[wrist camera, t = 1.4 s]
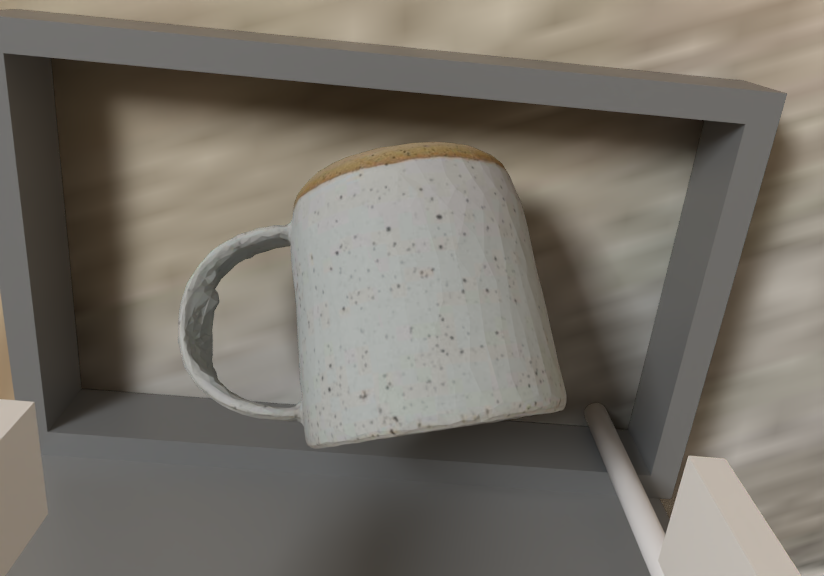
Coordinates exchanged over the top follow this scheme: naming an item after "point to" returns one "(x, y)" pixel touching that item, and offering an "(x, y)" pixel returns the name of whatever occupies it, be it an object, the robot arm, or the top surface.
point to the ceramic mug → (398, 299)
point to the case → (285, 441)
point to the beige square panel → (4, 363)
